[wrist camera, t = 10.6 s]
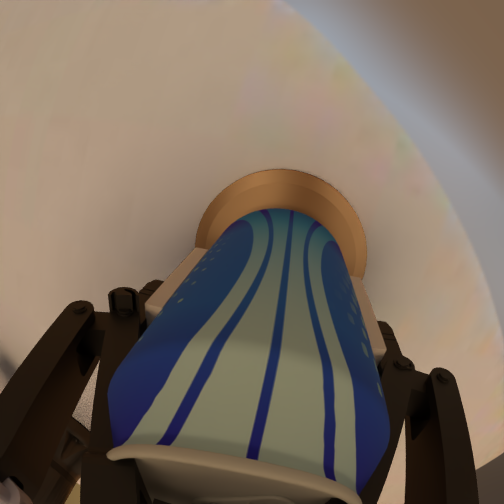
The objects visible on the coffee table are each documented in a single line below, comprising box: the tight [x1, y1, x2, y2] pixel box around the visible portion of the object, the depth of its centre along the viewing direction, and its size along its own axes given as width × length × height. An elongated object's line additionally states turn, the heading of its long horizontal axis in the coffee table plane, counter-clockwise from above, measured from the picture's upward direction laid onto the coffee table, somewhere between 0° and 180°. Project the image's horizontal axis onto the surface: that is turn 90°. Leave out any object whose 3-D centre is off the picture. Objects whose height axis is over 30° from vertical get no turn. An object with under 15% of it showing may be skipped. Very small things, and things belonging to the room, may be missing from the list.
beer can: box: [106, 208, 390, 504], centre depth 13 cm, size 8×8×16 cm
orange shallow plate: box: [195, 169, 367, 280], centre depth 21 cm, size 12×12×1 cm
